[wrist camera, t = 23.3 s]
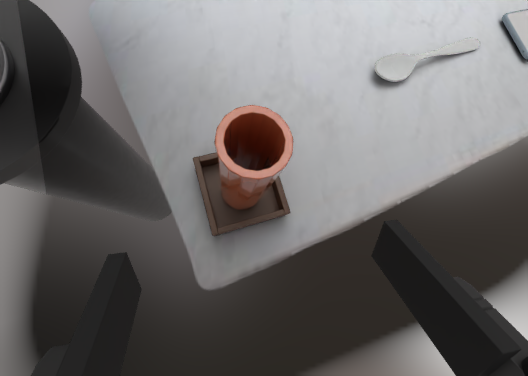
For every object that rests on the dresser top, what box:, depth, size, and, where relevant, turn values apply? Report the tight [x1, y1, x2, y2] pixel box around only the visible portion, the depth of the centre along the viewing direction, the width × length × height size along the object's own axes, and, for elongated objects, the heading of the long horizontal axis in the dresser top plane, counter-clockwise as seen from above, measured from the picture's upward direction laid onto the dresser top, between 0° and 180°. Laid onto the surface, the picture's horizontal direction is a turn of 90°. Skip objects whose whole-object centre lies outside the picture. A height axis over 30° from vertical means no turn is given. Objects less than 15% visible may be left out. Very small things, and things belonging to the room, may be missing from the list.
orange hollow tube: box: [215, 105, 293, 210], centre depth 21 cm, size 4×4×14 cm
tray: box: [193, 153, 290, 236], centre depth 27 cm, size 8×8×3 cm
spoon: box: [375, 38, 480, 82], centre depth 35 cm, size 4×21×2 cm, turn 114°
